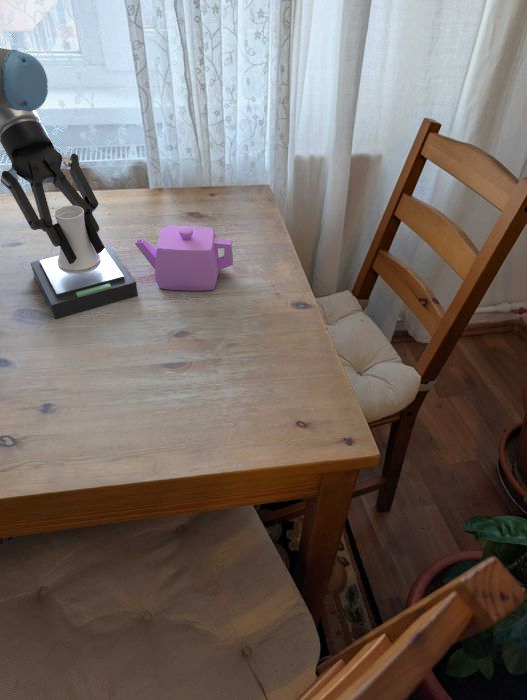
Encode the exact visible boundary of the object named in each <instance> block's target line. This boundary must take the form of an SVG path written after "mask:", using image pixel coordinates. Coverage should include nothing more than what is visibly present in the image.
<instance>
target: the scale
mask: <svg viewBox="0 0 527 700" xmlns="http://www.w3.org/2000/svg"><path fill="white" fill-rule="evenodd" d="M103 245H104V247H105V248H104V249H103V251H102V252H101V253H100V256H101V264H100V265H99V266H98V267H97V268H96V269H94V270H92V271H90V272H87V273H82V274H70V273H66V272H63V271H62V270H60V269H59V267H58V263H57V257H58V256H59V255H55V256H51V257H47V258H43V259H39V260H35V261H31V262H30V266H31V269H32V273H33V277H34V278H35V281H36V282H37V284H38V287H39V288H40V290H41V293H42V295H43V297H44V299H45V301H46V303H47V305H48V307H49V310H50V311H51V313H52V315H53V317H54V319H55V320H56V319H60V318H63V317H64V318H65V317H66V316H71V315H75V314H78V313H81V312H85V311H88V310H92V309H95V308H99V307H102V306H106V305H110V304H112V303H115V302H119V301H122V300H127V299H130V298H133V297H138V296H139V294H138V287H137V282H136V280H135V279H134V277H133V275H132V274H131V273H130V271H129V270H128V269H127V267H126V266H125V265H124V263H123V262H122V260H121V259H120V258H119V256H118V255H117V253H116V252H115V250H114V249H113V248H112V247H111V245H110V243H106V244H103Z"/></svg>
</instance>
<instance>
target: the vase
mask: <svg viewBox="0 0 527 700" xmlns="http://www.w3.org/2000/svg"><path fill="white" fill-rule="evenodd" d="M53 216H54V218H55V221H56V223H59V225H60V227H61V229H62V231H63V233H64V235H65V237H66V238H67V240H68V242H69V244H70V246H71V248H72V250H73V251H74V253H75V255H76V257H77V259H76V260H75V262H74V263H72V264H69V262H68V260H67V258H66V257H65V255H64V253H63V251H62V249H61V247H60V246H59V247H60V248H59V255H57V256H58V257H57V263H58V267H59V269H60V270H62V271H63V272H66V273H70V274H82V273H87V272H90V271H92V270H94V269H96V268H97V267H98V266H99V265H100V264H101V256H100V253H99V254H97V253H96V251H95V249H94V247H93V245H92V243H91V241H90V239H89V236H88V234H87V230H86V226H85V221H84V210H83V208H81V207H79V206H73V205H72V204H71V205H63V206H60V207H58V208H56V209H55V210H54V211H53Z"/></svg>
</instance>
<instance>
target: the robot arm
mask: <svg viewBox="0 0 527 700" xmlns="http://www.w3.org/2000/svg"><path fill="white" fill-rule="evenodd" d="M48 84H49V79H48V75H47V72H46V69H45V67H44V66H43V64H42V62H41V61H40V60H39V59H38V58H37V57H36V56H34V55H32V54H30V53H26V52H22V51H20V50H18V49H12V48H11V49H7V48H3V47H2V46H1V45H0V144H1V146H2V148H3V150H4V152H5V154H6V155H7V157H8V159H9V160H10V162H11V168H10V169H8V170H3V171H2V172H1V176H0V182H1V183H2V185H3V186H5V187H6V189H8V190H9V191H10V193H11V195H12V196H13V199H14V201H15V202H16V204H17V206H18V207H19V209H20V211H21V213H22V215H23V216H24V218H25V220H26V222H27V225H28V226H29V228H30V229H31V230H33V231H37V230H42V231H43V232H44V233H46V235H47V236H48V237H47V238H48V239H49V240H50V242H51V244H52V246H54V247H55V248H57V247H61V249H62V251H63V253H64V255H65V257H66V258H67V260H68V262H69V264H72V263H74V262H75V260H76V259H77V257H76V255H75V253H74V251H73V250H72V248H71V246H70V244H69V242H68V240H67V238H66V237H65V235H64V233H63V231H62V229H61V227H60V225H59V223H57V222H56V223H54V224H53V219H52V215H51V211H50V207H49V204H48V201H47V196H46V193H45V190H44V185H45V184H51V183H52V184H53V185H54V187H55V188H58V190H59V191H60V193H61V194H62V195H63V196H64V197H65V198H66V199H67V200H68V201H69V203H70V204H71V205H73V206H79V207H81V208H83V210H84V221H85V226H86V230H87V234H88V236H89V239H90V241H91V243H92V245H93V247H94V249H95V251H96V253H97V254H99V253H101V252H102V251H103V249H104V248H105V247H104V245H105V244H104V242H103V241H102V240H101V238H100V236H99V234H98V233H99V231H100V226H99V224H98V221H97V220H96V218H95V217H94V214H93V212H95V211H96V209H97V208H98V206H99V201H98V199H97V197H96V195H95V193H94V191H93V189H92V188H91V186H90V184H89V182H88V179H87V178H86V176H85V174H84V172H83V170H82V168H81V166H80V159H79V156H78V154H76V153H71V155H64V154H62V153H61V152H59V151H58V150H57V149H56V147H55V146H54V144H53V142H52V139H51V138H50V135H49V134H48V132H47V130H46V128H45V126H44V125H43V123H41V119H40V117H39V115H38V113H37V111H36V110H39V109H40V108H41V107H42V106H43V105H44V104H45V102H46V100H47V97H48V93H49V90H48V88H49V85H48ZM62 164H63V165H64V166H65V168H66V170H69V174H70V176H71V178H72V180H73V182H74V184H75V186H76V188H77V190H78V191H77V190H76V188H75V187H74V186H73V185H72V183H70V181H69V180H68V179H67V177H66V175H65V173H64V172H63V171H62V169H61V168H62ZM18 176H19V177H18ZM19 178H21V179H23V180H25V181H26V182H28V183H29V186H30V190H31V192H32V193H33V197H34V201H35V204H36V208H37V212H38V214H37V213H36V210H35V208H34V206H33V205H32V203H31V201H30V200H29V198H28V197H27V194H26V192H25V191H24V189H23V187H22V185H21V183H20V181H19ZM38 215H39V216H38Z"/></svg>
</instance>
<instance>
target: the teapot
mask: <svg viewBox="0 0 527 700" xmlns="http://www.w3.org/2000/svg"><path fill="white" fill-rule="evenodd" d="M134 245H135V247H137V248H138V250H139V251H140V253H141V254H142V255H143V257H145V259H146V260H147V261H148V263H149V264H150V266H151V267H153V269H154V273H155V281H156V284H157V286H158V288H160V289H162V290H172V291H184V292H186V291H187V292H200V291H205V292H206V291H213V290H215V288H216V284H217V282H218V275H219V271H221V270H222V271H223V270H224V269H226V268H229V267H231V266H233V265H234V255H233V244H232V239H227V238H226V239H225V238H217V237H216V232H215V229H214V228H212V227H208V226H206V227H205V226H197V225H196V226H195V225H194V226H193V225H165V226H162V227H161V230H160V233H159V237H158V240H157V243H156V248H155V247H154V246H153V245H151V244H150V243H149V242H148V241H145V240H144V238H140V239H136V240H135V242H134ZM219 249H223V255H222V256H219Z"/></svg>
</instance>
